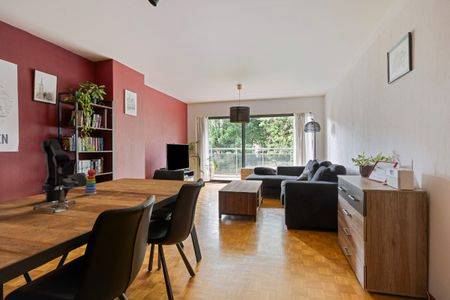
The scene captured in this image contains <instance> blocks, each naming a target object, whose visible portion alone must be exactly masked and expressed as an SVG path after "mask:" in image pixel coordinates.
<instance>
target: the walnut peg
mask: <svg viewBox="0 0 450 300" xmlns="http://www.w3.org/2000/svg"><path fill="white" fill-rule="evenodd" d="M59 193H60V198H59V201H58V200H57V201H58V202H57V204H58V203H62V202H66V201H65V199H66V198H65V190H62V189H61V190H60V192H59Z"/></svg>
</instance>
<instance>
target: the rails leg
mask: <svg viewBox="0 0 450 300" xmlns="http://www.w3.org/2000/svg"><path fill="white" fill-rule="evenodd" d="M54 205H55V206H57V207H62V208H65V210H66V211H68V210H69V205H67V204H61V205H60V204H58V203H54ZM33 206H34V207H36V209H43V210H50V211H53V212H52V214H56V213H57V212H56V210H57V208H53V207H46V206H35V204H34V205H33Z"/></svg>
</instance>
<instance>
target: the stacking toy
mask: <svg viewBox="0 0 450 300" xmlns="http://www.w3.org/2000/svg"><path fill="white" fill-rule="evenodd" d="M86 173H87V176H86V178H87V179H86V182H85V183H86V184H85V189H84V192H83V193H84V195H85V196H94V195H96V194H97V185H96V182H97V181H96V176H95V174H96V170H95V169H93V168H91V169H89V170H88V171H87V172H86Z"/></svg>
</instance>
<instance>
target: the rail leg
mask: <svg viewBox="0 0 450 300" xmlns="http://www.w3.org/2000/svg"><path fill="white" fill-rule="evenodd" d="M76 202H77V201H76V200H75V199H72V200H69V199H68V198H65V202H62V203H58V200H55V201H50V202H49V201H48V202H45V203H41V204H36V205H35V204H34V205H35V206H41V207H44V206H47V205H53V204H54V205H53V206H54V208H55V209H57V208H58V206H55V204H60V205H66V204H70V203H72V204H73V205H74V204H76ZM34 205H33V207H32V210H33V211H35V210H37V208H36V207H34Z"/></svg>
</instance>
